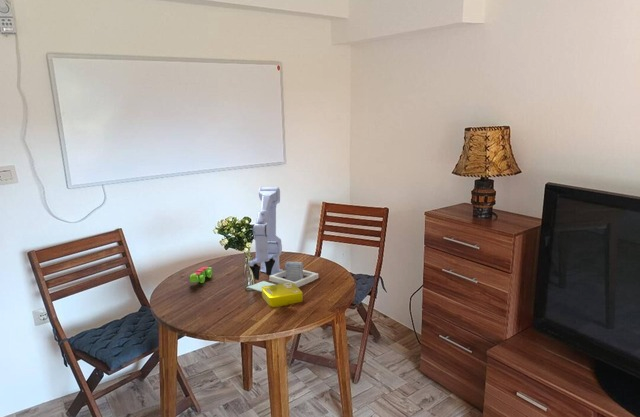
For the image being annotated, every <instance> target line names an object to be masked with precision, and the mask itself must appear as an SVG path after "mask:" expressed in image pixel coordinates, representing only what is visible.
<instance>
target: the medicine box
mask: <svg viewBox="0 0 640 417" xmlns="http://www.w3.org/2000/svg"><path fill="white" fill-rule="evenodd" d="M303 264H304V262H302V261H290V260H289V261H286V263H285V264H284V270H285V277H284V279H287V280H290V281H294V282H296V281H298V280H301V279H303V278H304V275H303V270H304V267H303Z"/></svg>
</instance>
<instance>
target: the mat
mask: <svg viewBox="0 0 640 417" xmlns="http://www.w3.org/2000/svg"><path fill="white" fill-rule="evenodd" d="M271 285H276V283H273V282H270V281H268V282H267V281H266V280H262V281H260V282H257V283H254V284H252V285H250V286H247V288H248V289H250V290H255V291H256V292H257V291H258V292H259V293H262V287H264V286H271Z"/></svg>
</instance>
